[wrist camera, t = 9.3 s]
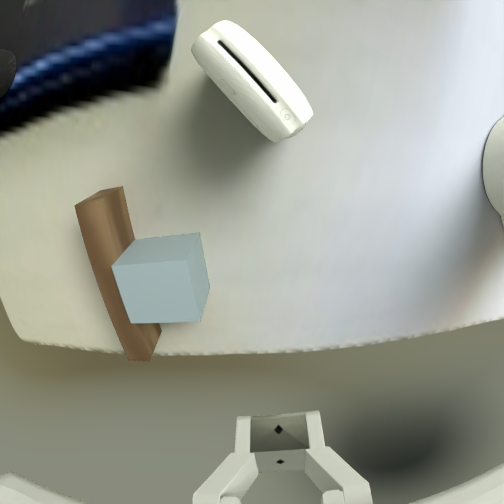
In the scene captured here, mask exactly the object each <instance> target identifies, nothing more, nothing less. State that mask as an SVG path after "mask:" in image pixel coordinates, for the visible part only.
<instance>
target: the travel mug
mask: <svg viewBox="0 0 504 504" xmlns="http://www.w3.org/2000/svg"><path fill="white" fill-rule="evenodd" d="M15 73H16V58H15V55H14V54H13V53H12V52H11V51H9V50H4V49H0V97H2V96H3V95H4V94H5V93H6V92H7V91H8V90H9V88H10V87H11V85H12V82H13V80H14V77H15Z"/></svg>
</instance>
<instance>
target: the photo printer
mask: <svg viewBox="0 0 504 504" xmlns="http://www.w3.org/2000/svg"><path fill="white" fill-rule="evenodd" d="M191 51H192V54H193V56H194V57H195V59H196V61H197V63H198V64H199V65H200V66H201V68H202V69H203V70H204V72H205V73H206V74H207V75H208V76H209V77H210V78H211V79H212V81H213V82H214V83H215V84H216V85H217V86H218V87H219V88H220V89H221V91H222V92H223V93H224V94H225V95H226V96H227V97H228V98H229V100H230V101H231V102H232V103H233V104H234V105H235V106H236V107H237V108H238V109H239V110H240V111H241V113H242V114H243V115H244V116H245V117H246V118H247V119H248V120H249V121H250V122H251V123H252V124H253V126H254V127H256V128H257V129H258V130H259V131H260V132H261V133H262V134H263V135H265V136H266V137H267V138H268V139H270V140H271V141H272V142H274V143H277V142H279V141H281V140H283V139H287V138H291V137H293V136H294V135H296V134H297V133H298V132H300V131H301V130H302V129H303V128H304V127H305V125H306V123H307V121H308V120H309V119H310V118H311V117H312V116H313V111H312V109H311V107H310V105H309V103H308V101H307V99H306V98H305V96H304V95H303V93H302V92H301V91H300V89H299V88H298V87H297V85H296V84H295V83H294V81H293V80H292V79H291V78H290V76H289V75H288V74H287V73H286V71H285V70H284V69H283V68H282V67H281V66H280V65H279V63H278V62H277V61H276V60H275V59H274V58H273V57H272V56H271V55H270V54H269V53H268V52H267V51H266V50H265V49H264V48H263V47H262V46H261V45H260V44H259V43H258V42H257V41H256V40H255V39H254V38H253V37H252V36H251V35H249V34H248V33H247V32H246V31H245V30H243V29H242V28H241V27H239V26H238V25H236V24H234V23H232V22H230V21H226V20H225V21H221V22H218V23H216V24H214V25H213V26H212V27H211V28H210V29H208V30H207V31H206V32H204V33H202V34H201V35H199V36H198V38H197V39H196V40H195V42H194V43H193V45H192V48H191Z"/></svg>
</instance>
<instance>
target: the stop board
mask: <svg viewBox="0 0 504 504" xmlns="http://www.w3.org/2000/svg"><path fill="white" fill-rule="evenodd" d="M75 210H76V214H77V217H78V221H79V225H80V229H81V232H82V236H83V239H84V243H85V246H86V249H87V253H88V256H89V259H90V262H91V265H92V268H93V271H94V274H95V277H96V280H97V283H98V286H99V289H100V292H101V294H102V297H103V300H104V303H105V305H106V308H107V310H108V313H109V316H110V318H111V321H112V323H113V326H114V328H115V330H116V333H117V335H118V338H119V340H120V342H121V345H122V347H123V349H124V351H125V354H126V356H127V358H128V360H134V361H150V359H151V357H152V354H153V351H154V349H155V346H156V344H157V341H158V339H159V336H160V334H161V328H160V325H159V323H131V322H130V320H129V317H128V314H127V311H126V309H125V306H124V303H123V300H122V297H121V294H120V291H119V288H118V285H117V282H116V279H115V276H114V273H113V270H112V267H111V266H112V265H113V264H114V263H115V261H116V260H117V259H118V258H119V257H120V256H121V255H122V253H123V252H124V251H125V250H126V249H127V248H128V247H129V246H130V245H131V243H132V242H133V241H134V240H135V238H134V234H133V230H132V226H131V222H130V217H129V213H128V209H127V204H126V199H125V195H124V190H123V186H122V187H117V188H112V189H106V190H101V191H99V192H97V193H96V194H94V195H92V196H90V197H89V198H87V199H85V200H83V201H82V202H80V203H78V204H76V205H75Z"/></svg>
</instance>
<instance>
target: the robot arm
mask: <svg viewBox="0 0 504 504" xmlns="http://www.w3.org/2000/svg"><path fill="white" fill-rule="evenodd" d="M483 179H484V185H485V190H486V193H487V196H488V199H489V201H490V203H491V204H492V206H493V207H494V209H495V210H496V211H497V212H498V213H499V214H500V216H501V219H502V223H503V226H504V117H502V118H501V119H500V120H499V121H498V122H497V123H496V124H495V126H494V127H493V129H492V130H491V132H490V134H489V137H488V139H487V143H486V146H485V151H484V157H483ZM293 470H304V472H305V473H306V474H307V475H308V476H309V478H310V479H311V480H312V481H313V482H314V484H315V485H316V486H317V487H318V488H319V489H320V490H321V492H322V493H323V495H322V499H321V502H320V504H373V502H372V497H371V492H370V487H369V483H368V482H367V481H366V480H365V479H364V478H363V477H361V476H360V475H359V474H358V473H357V472H356V471H355V470H354V469H353V468H351V467H350V466H349V465H348V464H347V463H346V462H345V461H344V460H343V459H342V458H341V457H340V456H339V455H337V454H336V453H335V452H334V451H333V450H332V449H331V448H330V447H329V446H328V447H325V443H324V437H323V430H322V425H321V418H320V413H319V411H311V412H299V413H290V414H279V415H267V416H238V417H237V420H236V431H235V446H234V453H230V454H229V455H228V456H227V457H226V458H225V460H224V461H223V462H222V463H221V464H220V465H219V467H218V468H217V469H216V470H215V471H214V472H213V473H212V474H211V475H210V476H209V478H208V479H207V480H206V481H205V482H204V483H203V484H202V485H201V486H200V487H199V488H198V489H197V491H196V492H195V493H194V494H193V501H192V504H242V503H241V501H240V500H241V498H242V497H243V496H244V494H245V493H246V492H247V490H248V489H249V488H250V486H251V485H252V483H253V482H254V480H255V479H256V477H257V476H258V474H259V473H263V472H277V471H293ZM0 504H91V503H88V502H85V501H82V500H79V499H76V498H73V497H71V496H68V495H65V494H62V493H60V492H57V491H55V490H52V489H50V488H47V487H45V486H43V485H40V484H38V483H36V482H34V481H31V480H29V479H27V478H25V477H23V476H21V475H19V474H17V473H14V472H7V473H5V474H2V475H0ZM409 504H504V463H503V464H501V465H499V466H497V467H495V468H493V469H492V470H490V471H488V472H486V473H484V474H482V475H480V476H478V477H476V478H473V479H471V480H469V481H467V482H465V483H462V484H460V485H458V486H456V487H453V488H451V489H448V490H446V491H443V492H441V493H438V494H436V495H433V496H430V497H428V498H425V499H422V500H418V501H415V502H413V503H409Z"/></svg>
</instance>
